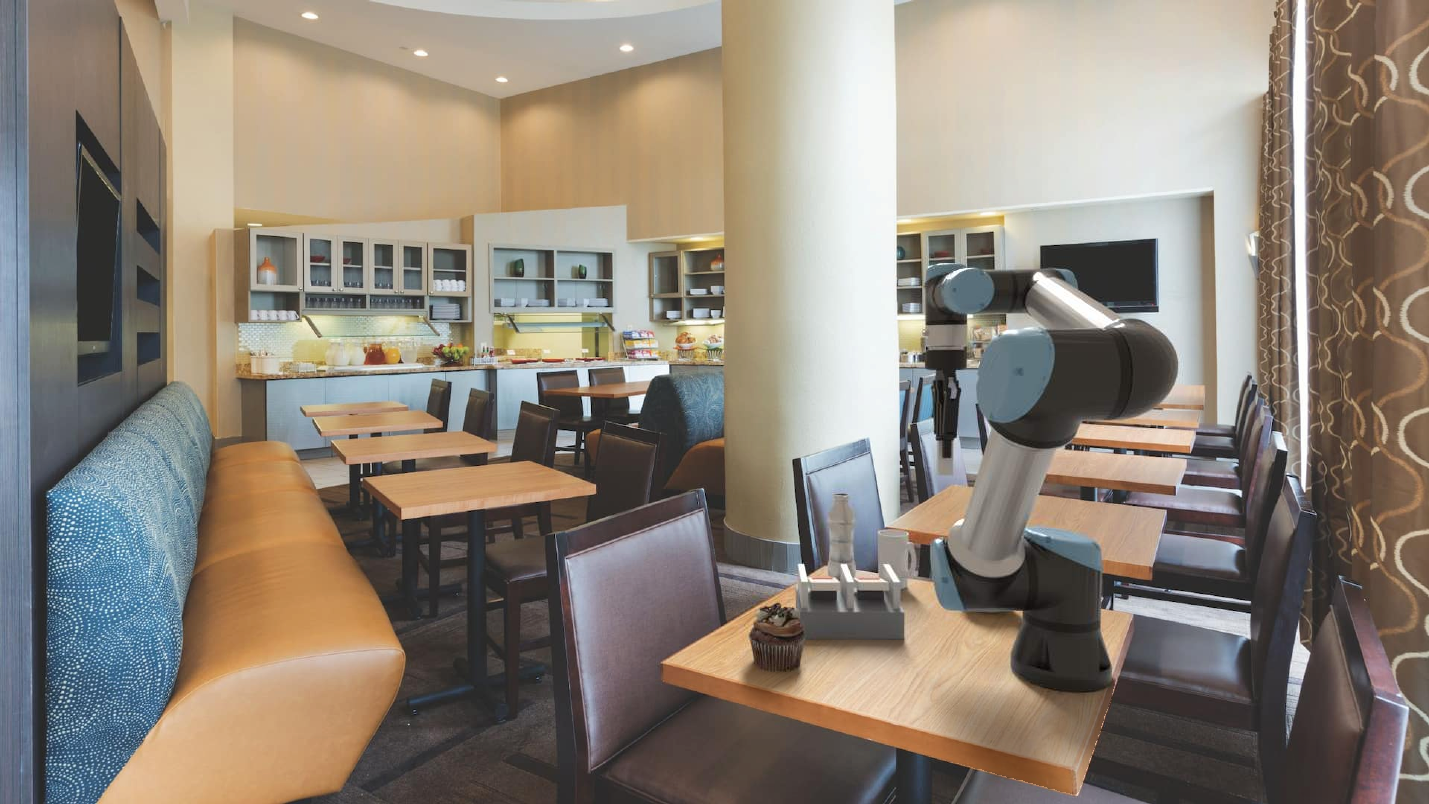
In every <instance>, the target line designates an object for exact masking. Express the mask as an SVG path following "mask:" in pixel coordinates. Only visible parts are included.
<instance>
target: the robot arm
mask: <svg viewBox="0 0 1429 804" xmlns="http://www.w3.org/2000/svg"><path fill="white" fill-rule="evenodd" d="M1075 277H1076V276H1075V274H1074V272H1073V271H1071V270H1069V269H1065V268H1054V267H1047V268H1029V269H1028V268H1027V269H1026V268H1024V269H1021V268H1020V269H1019V268H1018V269H980V268H977V267H968V266H966V265H965V264H963V263H956V262H955V263H937V264H931V265H929V266H928V267H927V268H926V271H925V278H924V279H925V282H924V284H923V286H924V291H925V292H924V295H925V296H924V297H925V299H924V303H925V304H924V307H925V308H924V309H925V310H924V313H925V315H924V316H925V317H924V318H925V319H924V321H925V324H924V326H925V330H923V331H922V332H921V335H922V336H923V337H924V338H925V339H924V340H925V341H924V342H925V343H924V346H925V347H927V348H928V349H926V350H925V352H924V368H925V370H928V371H935V375H934V376H935V377H934V379H933V380H932V384H931V386H930V391H931V397H932V414H933V415H932V416H933V417H932V418H933V434H934V435H935V438H934V439H935V441H936V475H937V476H954V441H955V439H957V437H958V427H959V426H958V425H959V411H960V400H961V393H962V388H961V387H960V382H959V380H958V379H957V371H964V370H966V369H967V368H968V352H967V350H966V349H965V347H967V346H968V332H969V331H968V315H991V314H993V315H995V314H999V315H1000V314H1027V315H1028V316H1029V317H1030V316H1031V317H1032V318H1033V319H1034V320H1035V321H1036V322H1038V323H1039V324H1040V325H1041V326H1042V327H1044V328H1042V327H1039V326H1030V327H1025V328H1023V329H1021V328H1020V329H1019V328H1018V329H1008V330H1004V331H1002V332H999V333H998V334H997V335H995V336H994V337H993V338H992V339H991V340H990V341H989V343H988V344H987V345H986V347H985V349H984V350H983V353H982V356H981V358H980V361H979V364H978V368H977V376H978V379H977V381H976V390H975V391H976V400H977V405H978V408H979V410H980V412H981V414H982V416H983V417H984V418H985V419H986V420H985V421H986V422H987V424H988V426H989V427H990V428H991V429H990V432H989V435H988V439H987V443H986V445H985V449H984V452H983V455H982V459H981V462H980V465H979V469H978V472H977V475H976V478H975V481H974V485H973V487H972V491H971V495H970V498H969V501H968V505H967V508H966V511H965V513H964V518H961V519H960V520H958V521H957V522H955V523H954V524H953V525H952V527H950V530H949V532H948V535H947V537H944V536H939V538H938V537H937V538H933V539H932V540H931V542H930V547H929V548H930V549H929V551H930V552H929V553H930V554H929V556H930V557H929V558H930V567H931V569H930V570H931V576H932V582H933V587H934V591H935V594H936V599H937V600H938V602H939V603H938V604H940V606H941V607H942V608H943V609H945V610H946V611H954V612H957V611H958V612H963V613H967V612H969V613H970V612H981V611H1002V612H1022V621H1021V624H1020V627H1019V629H1018V632H1017V635H1016V637H1015V640H1014V643H1013V645H1012V648H1011V651H1010V669H1011V670H1012V672H1014V673H1015V674H1016V675H1017V676H1018V677H1020V678H1021V679H1023V680H1025V681H1028V682H1030V683H1031V684H1035V685H1037V686H1041V687H1045V688H1049V689H1053V690H1060V691H1067V692H1093V691H1099V690H1102V689H1105V688H1107V687H1108V686H1110V685H1111V683H1112V682H1113V681H1112V680H1113V665H1112V662H1111V658H1110V656H1109V652H1108V649H1107V646H1106V644H1105V641H1104V637H1103V634H1102V629H1101V627H1102V626H1101V623H1102V620H1101V619H1102V593H1103V592H1102V591H1103V589H1102V588H1103V586H1102V585H1103V572H1104V567H1103V556H1102V553H1103V552H1102V548H1101V546H1100V544H1099V543H1098V541H1096V540H1095V539H1094V538H1091V537H1088V536H1087V535H1085V534H1081V533H1078V532H1074V531H1070V530H1066V529H1061V528H1056V527H1049V526H1041V525H1040V526H1039V525H1038V526H1037V525H1034V526H1027V525H1028V522H1029V519H1030V517H1031V514H1032V512H1033V508H1034V507H1035V505H1036V502H1037V500H1038V497H1039V494H1040V491H1041V489H1042V487H1043V484H1044V482H1045V479H1046V476H1047V474H1048V471H1049V469H1050V466H1051V464H1052V461H1053V459H1054V456H1055V454H1056V451H1057V450H1058V449H1061V448H1063V447H1065V446H1067V445H1068V444H1070V443H1071V442H1072V441H1073V440H1074V438H1075V437H1076V435H1077V433H1078V431H1079V428H1080V426H1081V424H1082V422H1086V421H1087V422H1091V421H1095V422H1096V421H1097V422H1098V421H1099V422H1100V421H1123V420H1128V419H1134V418H1137V417H1139V416H1141V415H1144V414H1146V413H1148V412H1151V411H1152V410H1153V409H1155V408H1156V407H1157V406H1158V405H1160V404H1161V403H1162V402H1164V400H1165V399H1166V398H1167V397H1168V395H1170V393H1171V392H1172V389H1173V388H1174V386H1175V383H1176V381H1177V377H1178V374H1179V360H1178V359H1179V358H1178V354H1177V351H1176V349H1175V347H1174V345H1173V343H1172V342H1171V341H1170V339H1169V338H1168V336H1167V335H1165V334H1164V333H1163V332H1162V331H1161V330H1160V329H1158V328H1156V327H1155V326H1153V325H1152V324H1149V323H1148V322H1146V321H1144V320H1142V319H1140V318H1136V317H1135V318H1134V317H1127V318H1124V317H1123V316H1121V315H1120V314H1118V313H1116V312H1114V311H1113V310H1112V309H1111V308H1108V307H1106V306H1105V305H1103V304H1102V303H1101V302H1099V301H1097V300H1096V299H1093V298H1092V297H1091V296H1089V295H1087V294H1086V293H1084V292H1083V291H1081V290H1079V287H1078V281H1077V279H1076V278H1075Z"/></svg>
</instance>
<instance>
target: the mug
mask: <svg viewBox="0 0 1429 804" xmlns="http://www.w3.org/2000/svg"><path fill="white" fill-rule="evenodd" d="M909 535H910V534H909V532H908V531H905V530H901V529H882V530H879V531H878V532H877V558H878V559H877V562H878V563H877V565H878V571H877V573H878V578H881V579H883V564H889V565H890V566H891V568H892V570H893V571H894V573H895V574H896V576H897V578H898V579H899V581H900V590H903V589H906V588H908V581H909V580H910V579H913V577H914V573H915V570H916V568H917V554H916V550H915V547H914V542H909V541H910V540H909V538H910V537H909ZM909 554H910V557H911V558H910V559H911V561H910V562H911V563H910V567H909ZM908 579H909V580H908Z"/></svg>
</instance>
